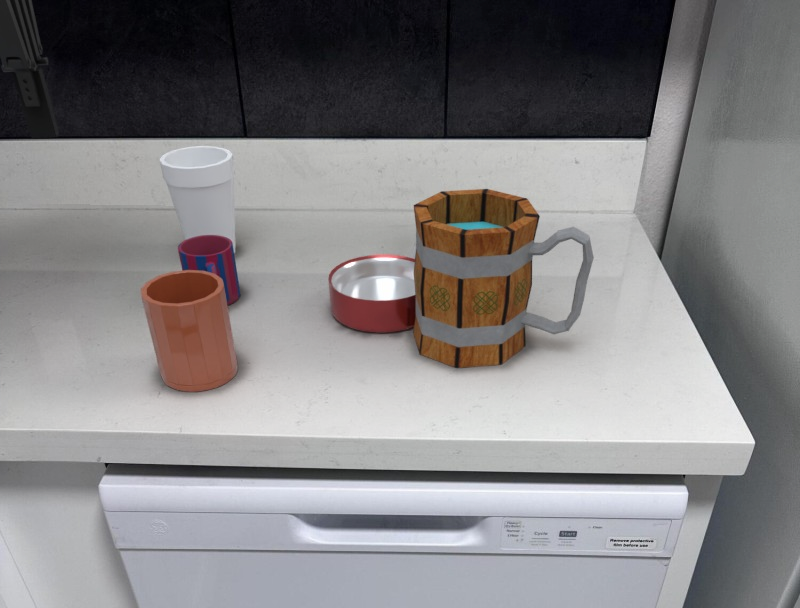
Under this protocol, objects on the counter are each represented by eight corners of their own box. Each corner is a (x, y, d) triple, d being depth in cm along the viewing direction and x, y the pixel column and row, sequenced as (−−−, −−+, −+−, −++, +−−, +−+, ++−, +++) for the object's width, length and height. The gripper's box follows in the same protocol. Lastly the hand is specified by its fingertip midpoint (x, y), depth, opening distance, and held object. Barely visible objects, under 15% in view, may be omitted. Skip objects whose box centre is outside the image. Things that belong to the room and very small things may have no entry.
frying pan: (392, 229, 118) (391, 185, 114) (476, 238, 116) (479, 193, 111) (315, 327, 96) (311, 276, 91) (418, 341, 93) (419, 289, 89)
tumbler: (145, 379, 87) (123, 294, 80) (196, 346, 93) (179, 264, 86) (204, 399, 84) (185, 312, 77) (252, 364, 89) (239, 280, 83)
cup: (239, 283, 105) (232, 232, 100) (241, 318, 98) (233, 265, 93) (188, 287, 104) (178, 236, 100) (187, 323, 97) (175, 269, 92)
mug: (398, 360, 90) (396, 228, 79) (426, 307, 99) (427, 184, 89) (572, 382, 86) (594, 247, 76) (583, 325, 95) (604, 198, 85)
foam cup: (189, 240, 116) (170, 145, 107) (251, 240, 116) (237, 145, 107) (172, 267, 109) (151, 168, 100) (238, 267, 109) (223, 168, 100)
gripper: (-8, -142, 67) (70, 153, 83) (24, -149, 76) (89, 117, 92) (-101, -142, 66) (-4, 156, 82) (-57, -149, 75) (22, 119, 92)
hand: (45, 135), depth 87 cm, fingers closed
